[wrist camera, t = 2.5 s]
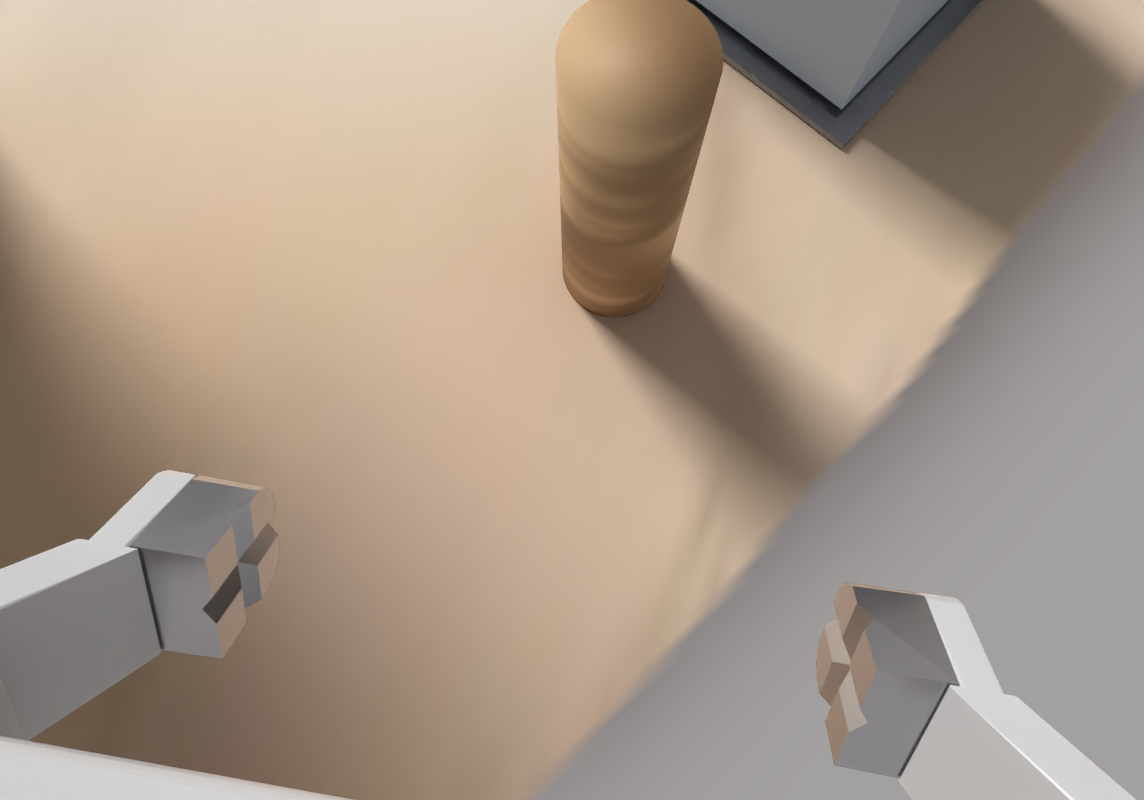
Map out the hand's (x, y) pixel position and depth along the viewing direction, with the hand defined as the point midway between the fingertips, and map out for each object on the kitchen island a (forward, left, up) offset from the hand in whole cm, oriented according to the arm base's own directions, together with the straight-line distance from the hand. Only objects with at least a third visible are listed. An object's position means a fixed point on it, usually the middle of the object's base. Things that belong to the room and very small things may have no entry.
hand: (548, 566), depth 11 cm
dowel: (+6, +11, -16) cm, 21 cm away
